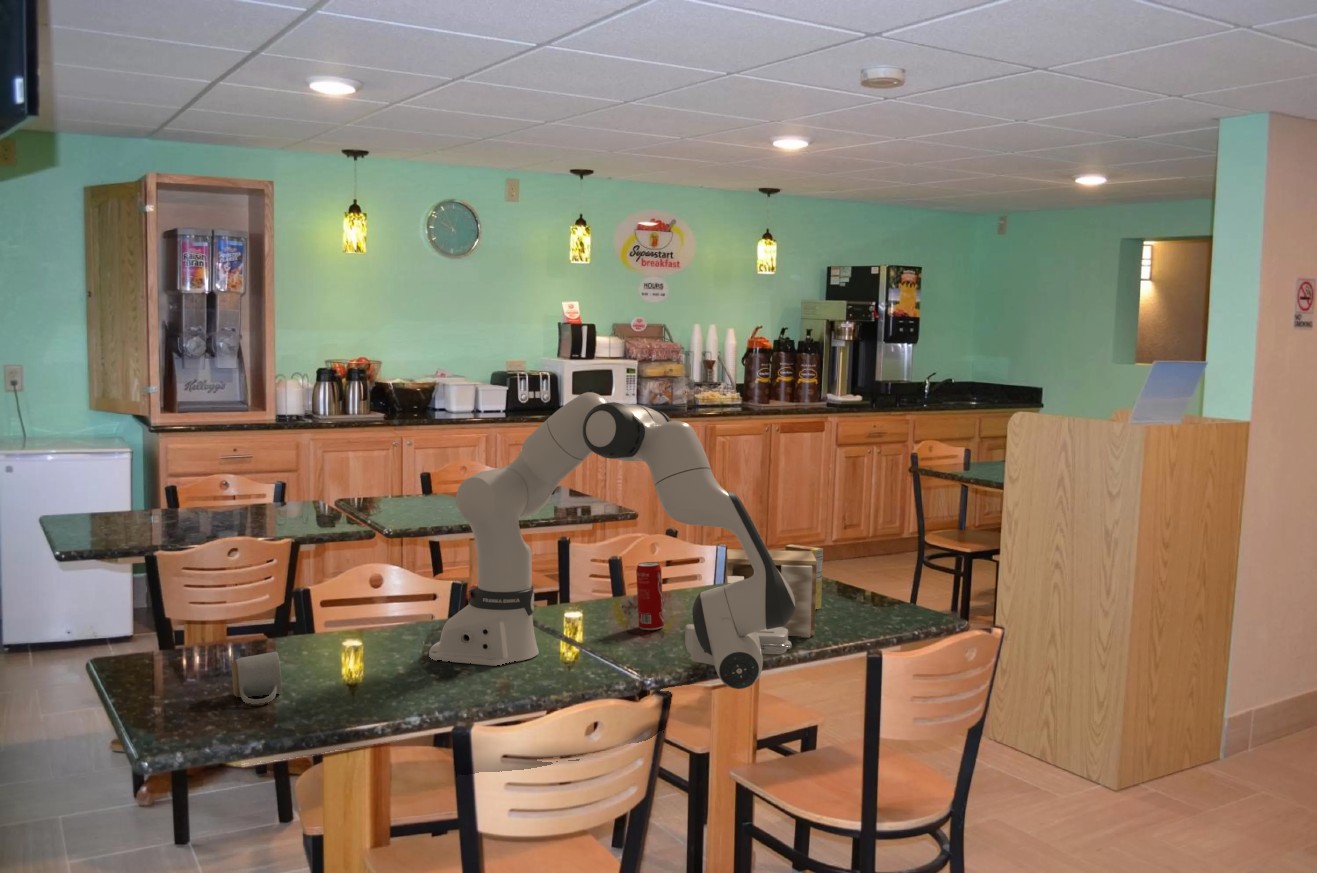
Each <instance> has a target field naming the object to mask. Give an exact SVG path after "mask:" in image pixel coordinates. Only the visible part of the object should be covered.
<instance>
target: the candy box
mask: <svg viewBox="0 0 1317 873" xmlns="http://www.w3.org/2000/svg"><path fill="white" fill-rule="evenodd" d="M784 551H812V553H813V555H814V557H815V559H816V561H817V567H816V601H815V611H817V610H820V609H821V608H822V588H823V565H824V564H823V561H824V548H823V547H819V546H817V547H816V546H809V545H800V544H792V543H791V544H787V545H785V547H784ZM816 609H817V610H816Z"/></svg>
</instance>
